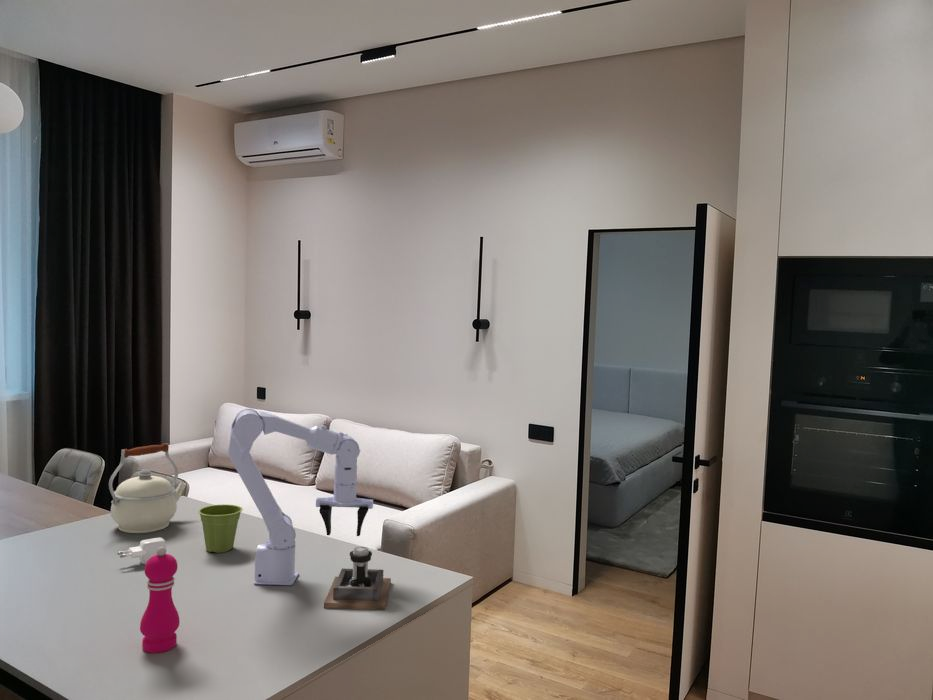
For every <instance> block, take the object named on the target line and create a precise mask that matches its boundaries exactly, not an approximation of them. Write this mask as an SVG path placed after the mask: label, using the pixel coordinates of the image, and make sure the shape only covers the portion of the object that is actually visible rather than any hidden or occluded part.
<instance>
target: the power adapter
mask: <svg viewBox="0 0 933 700" xmlns="http://www.w3.org/2000/svg"><path fill="white" fill-rule="evenodd" d="M166 544H167V543H166V540H165V539H164V538H163V537H153V538H147V539H142V540H140V542H139V545H137V546H132V547H128V550H124V551H123V550H122V551H117V555H119V558H120V559H121V558H122V559H123V558H127V557H131V558H132V559H135V558H136V559H137V558H138V559H139V562H140V564H141V565H144V566H145V565H146V562H147V561H148V560H149V559H150V558H151V557H152V556H154V555H157V549H158V548H160V547H164V548H167V546H166Z"/></svg>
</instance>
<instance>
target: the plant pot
mask: <svg viewBox="0 0 933 700" xmlns="http://www.w3.org/2000/svg"><path fill="white" fill-rule="evenodd" d="M242 511H243V507H242V506H240V505H235V504H211V505H206V506H204V507H201V508H199V509H198V510H197V513H198V514H199V515H200V521H201V523H202V530H203V536H204V539H203V540H204V544H205V550H206V551H207V552H210V553H211V552H213V553H217V554H219V553H220V554H221V553H226V552H229V551H231V549H232V550H233V548H234V544H235V538H236V535H237V534H236V533H237V529H238V524H239V520H240V516H241V513H242Z"/></svg>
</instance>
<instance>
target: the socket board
mask: <svg viewBox="0 0 933 700" xmlns="http://www.w3.org/2000/svg"><path fill="white" fill-rule="evenodd" d="M367 575H368V578H369V579H370V580H371V587H355V586H348V585H349V583H350V582H349V581H350V580H351V579H352V577H353V568H341V570H340V571H339V574H338V576H335V577H334V579H333V581H332V584H331V586H330V588H329V591H328V593H327V594H326V597H325V599H324V602H323V608H324V609H351V610H352V609H353V610H354V609H356V610H386V605H387V603H388V602H387V601H388V597H389V592H390V587H391V584H392V583H391V581H392V579H391V577H390V578H389V577H384V569H376V568H375V569H373V568H372V569H369V568H368V573H367Z"/></svg>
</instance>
